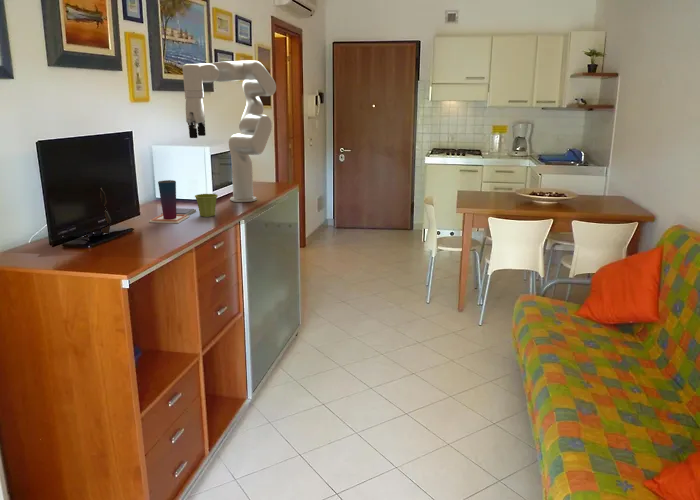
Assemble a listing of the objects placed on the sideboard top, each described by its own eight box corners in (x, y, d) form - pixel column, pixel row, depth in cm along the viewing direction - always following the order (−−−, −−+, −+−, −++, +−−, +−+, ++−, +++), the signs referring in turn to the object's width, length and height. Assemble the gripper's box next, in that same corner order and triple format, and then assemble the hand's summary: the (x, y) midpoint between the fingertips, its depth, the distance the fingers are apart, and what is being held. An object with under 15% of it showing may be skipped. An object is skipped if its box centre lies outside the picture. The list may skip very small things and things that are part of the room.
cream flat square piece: (161, 216, 237) (161, 213, 236) (189, 217, 235) (189, 214, 235) (149, 222, 225) (148, 219, 225) (178, 223, 224) (177, 220, 224)
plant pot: (196, 213, 242) (194, 193, 239) (218, 213, 244) (217, 193, 242) (195, 218, 233) (194, 197, 231) (219, 217, 235) (218, 196, 233)
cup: (181, 216, 233) (178, 180, 229) (175, 220, 227) (172, 183, 223) (165, 216, 234) (162, 180, 230) (158, 219, 227) (155, 182, 223)
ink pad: (172, 210, 248) (171, 207, 247) (196, 211, 247) (196, 208, 246) (161, 215, 237) (161, 212, 237) (186, 216, 236) (186, 213, 236)
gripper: (193, 94, 244) (196, 134, 249) (177, 96, 227) (181, 139, 232) (210, 94, 243) (213, 134, 248) (195, 95, 227) (199, 139, 232)
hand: (197, 136), depth 240 cm, fingers open, 9 cm apart
